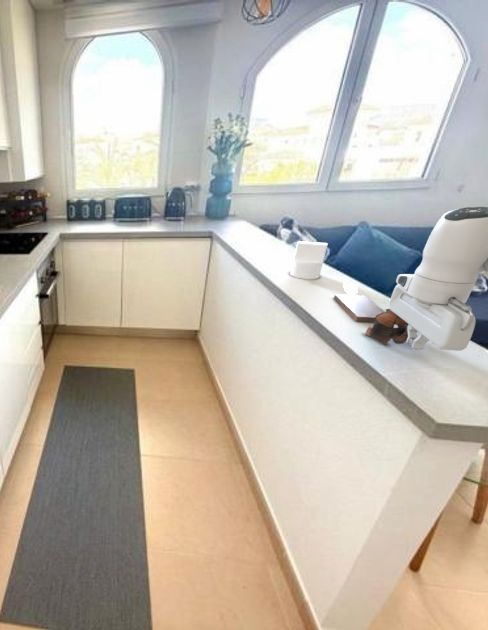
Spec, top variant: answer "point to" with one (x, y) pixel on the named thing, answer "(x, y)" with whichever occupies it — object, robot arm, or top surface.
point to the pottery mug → (388, 328)
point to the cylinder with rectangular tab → (308, 259)
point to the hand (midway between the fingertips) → (413, 346)
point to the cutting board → (359, 307)
